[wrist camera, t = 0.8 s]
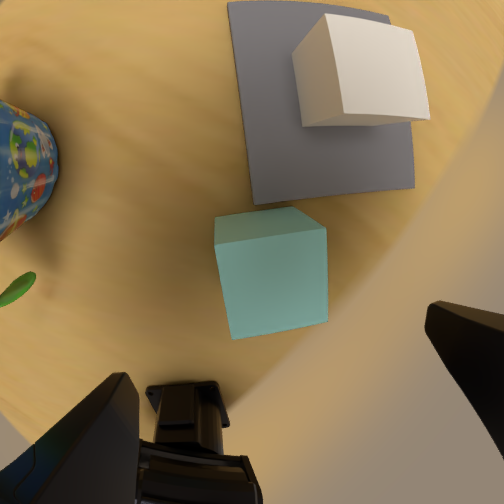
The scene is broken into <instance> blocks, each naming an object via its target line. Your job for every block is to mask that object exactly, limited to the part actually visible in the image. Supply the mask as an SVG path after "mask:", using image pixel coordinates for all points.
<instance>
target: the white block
mask: <svg viewBox="0 0 504 504" xmlns="http://www.w3.org/2000/svg"><path fill="white" fill-rule="evenodd" d="M292 60H293V66H294V72H295V78H296V85H297V91H298V98H299V105H300V112H301V120H302V127H311V126H376V125H384V124H391V123H400V122H409V121H419V120H430V113H429V105H428V99H427V92H426V87H425V81H424V76H423V71H422V67H421V62H420V58H419V54H418V50H417V46H416V42H415V38H414V35H413V31H411V30H407V29H404V28H400V27H396V26H393V25H389V24H384V23H380V22H376V21H371V20H366V19H360V18H355V17H349V16H342V15H335V14H326V13H325V14H324V15H323V16H322V17H321V18H320V19H319V21H318V22H317V23H316V24H315V25H314V27H313V28H312V29H311V30H310V31H309V33H308V34H307V35H306V36H305V38H304V39H303V40H302V41H301V42H300V44H299V45H298V46H297V47H296V49H295V50H294V51H293V53H292Z"/></svg>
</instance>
